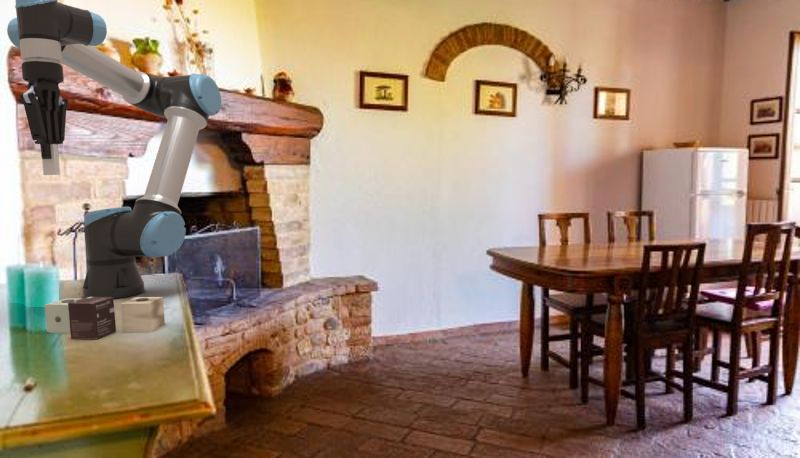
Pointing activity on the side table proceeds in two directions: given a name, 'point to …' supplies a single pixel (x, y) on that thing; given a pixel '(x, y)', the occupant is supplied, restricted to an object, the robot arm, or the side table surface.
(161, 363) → the side table surface
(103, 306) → the box
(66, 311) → the sage block partly covered
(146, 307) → the beech block marked
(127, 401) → the side table surface
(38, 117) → the robot arm
